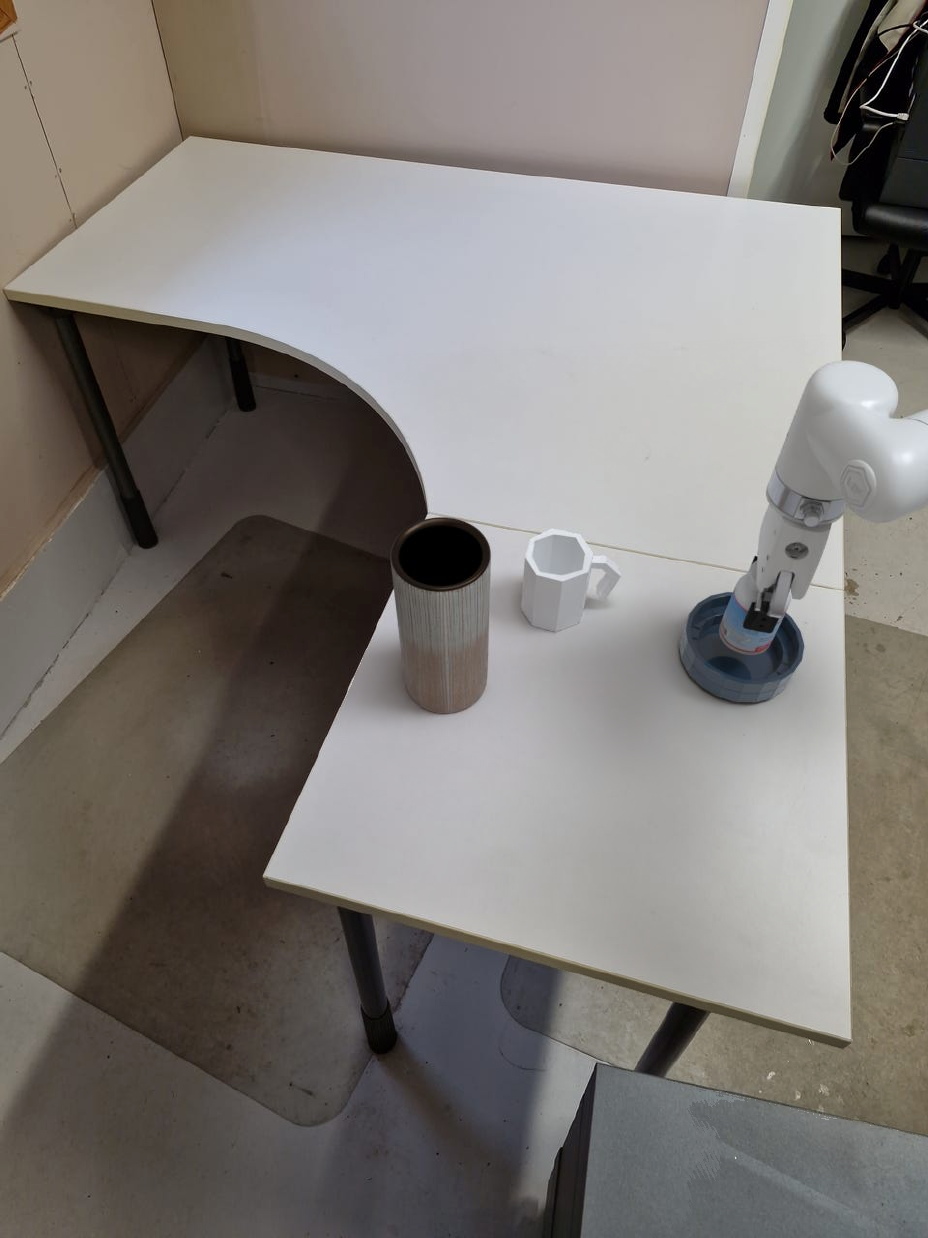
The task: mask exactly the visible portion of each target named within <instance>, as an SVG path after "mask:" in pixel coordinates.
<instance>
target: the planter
mask: <svg viewBox="0 0 928 1238" xmlns="http://www.w3.org/2000/svg"><path fill="white" fill-rule="evenodd" d="M389 557H390V567H391V578H392V585H393V595H394V602H395V611H396V619H397V620H396V621H397V628H398V638H399V646H400V655H401V663H402V664H401V665H402V673H403V680H404V685H405V689H406V691H407V693H408V695H409V697H410V699H412V701H413V702H414V703H415V704H417V705H418V706H419V707H421V708H423V709H425V710H427V711H428V712H429V711H430V712H432V713H437V714H453V713H458V712H461V711H464V710H466V709H468V708H470V707H472V706H473V705H474V704H476V703H477V702H478V700H479V699H481V697H482V696H483V694H484V692H485V690H486V687H487V683H488V674H489V672H488V670H489V644H490V643H489V641H490V639H489V637H490V610H491V609H490V601H491V571H492V569H491V568H492V550H491V546H490V543H489V541H488V539H487V538H486V536H485V535H484V533H483V532H482V531H480V530H479V529H478V528H477V527H476V526H474V525H473V524H471V523H469V522H467V521H464V520H462V519H458V518H453V517H447V516H446V517H445V516H443V517H442V516H438V517H430V518H425V519H421V520H418V521H417V522H414V523H412V524H410V525H409V526H407V527H405V528H404V529H403V530H402V531H401V532H400V533H399V534H398V535H397V536H396V538H395V540H394V541H393V543H392V546H391V548H390V555H389Z"/></svg>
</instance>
